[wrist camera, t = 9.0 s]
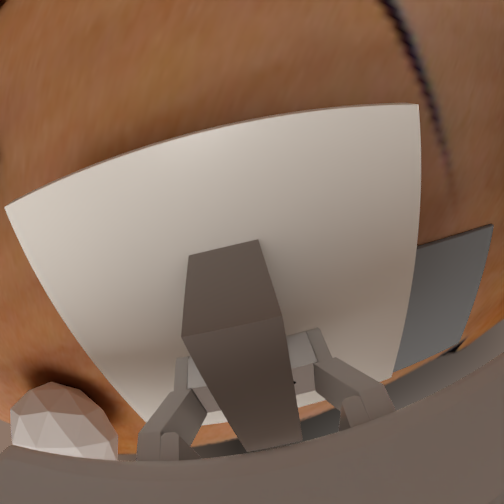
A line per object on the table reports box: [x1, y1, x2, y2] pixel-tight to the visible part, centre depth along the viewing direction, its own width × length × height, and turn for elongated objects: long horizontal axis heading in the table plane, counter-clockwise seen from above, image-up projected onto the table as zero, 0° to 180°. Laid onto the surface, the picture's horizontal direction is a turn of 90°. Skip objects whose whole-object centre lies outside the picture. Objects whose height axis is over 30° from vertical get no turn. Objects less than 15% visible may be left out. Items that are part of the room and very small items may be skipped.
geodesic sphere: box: [10, 382, 118, 460], centre depth 22 cm, size 14×14×14 cm
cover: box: [4, 103, 421, 452], centre depth 11 cm, size 16×16×5 cm
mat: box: [393, 224, 494, 372], centre depth 27 cm, size 18×18×1 cm
